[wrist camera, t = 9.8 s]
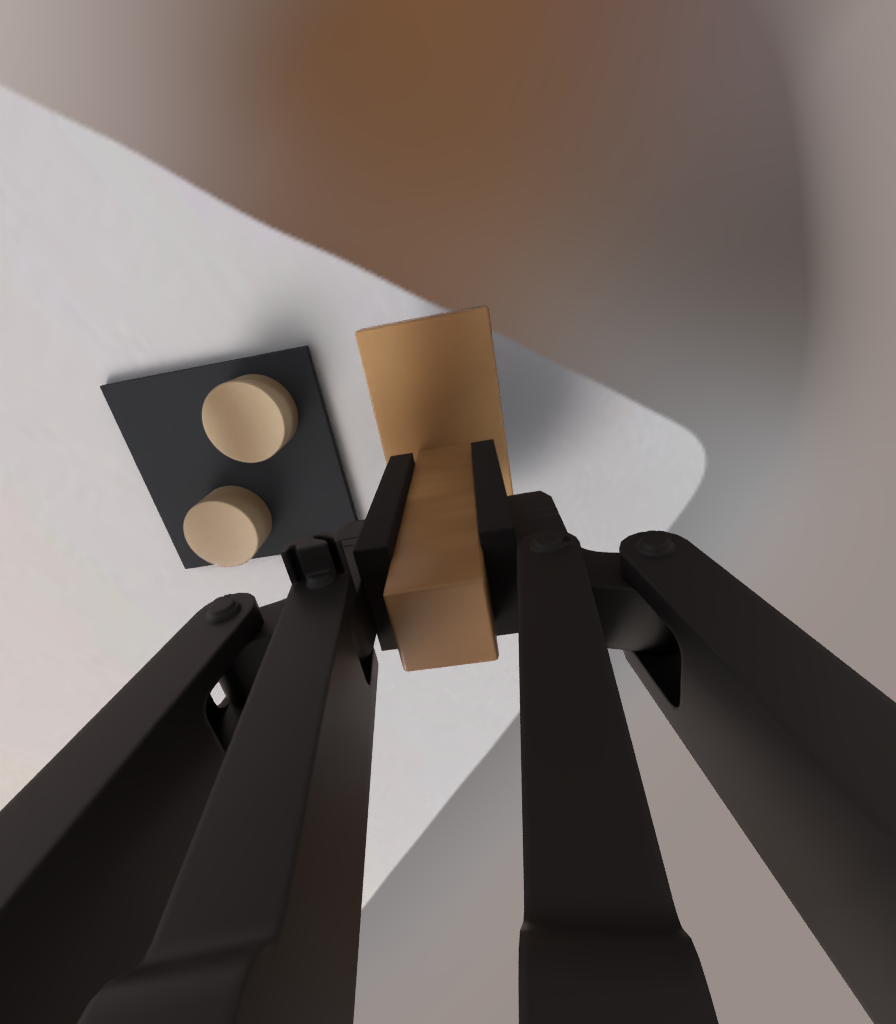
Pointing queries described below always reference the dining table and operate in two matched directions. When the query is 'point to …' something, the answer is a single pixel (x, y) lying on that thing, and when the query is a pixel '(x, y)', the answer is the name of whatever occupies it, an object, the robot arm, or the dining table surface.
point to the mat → (203, 468)
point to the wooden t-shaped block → (438, 479)
